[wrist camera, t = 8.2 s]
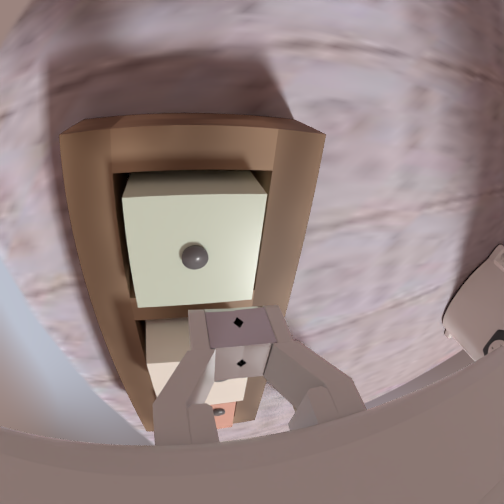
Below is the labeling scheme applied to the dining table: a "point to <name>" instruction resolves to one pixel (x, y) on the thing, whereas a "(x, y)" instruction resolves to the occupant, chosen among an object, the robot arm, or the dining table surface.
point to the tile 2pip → (171, 353)
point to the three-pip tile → (224, 414)
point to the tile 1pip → (193, 235)
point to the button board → (182, 158)
